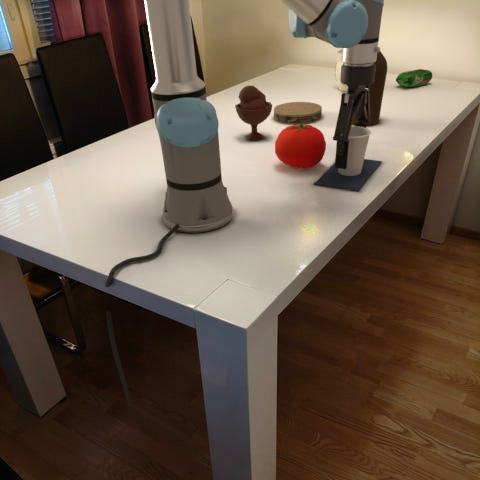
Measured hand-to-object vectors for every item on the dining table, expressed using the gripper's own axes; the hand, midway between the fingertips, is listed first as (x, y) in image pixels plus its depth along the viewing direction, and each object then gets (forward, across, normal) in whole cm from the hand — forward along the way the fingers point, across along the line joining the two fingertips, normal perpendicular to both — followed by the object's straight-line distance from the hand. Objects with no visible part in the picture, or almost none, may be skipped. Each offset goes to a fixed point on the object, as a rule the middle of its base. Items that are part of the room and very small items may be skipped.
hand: (349, 158), depth 121 cm
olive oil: (+4, +43, +9) cm, 44 cm away
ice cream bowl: (+4, +17, +35) cm, 39 cm away
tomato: (+4, 0, +13) cm, 14 cm away
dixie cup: (+4, 0, 0) cm, 4 cm away
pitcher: (+4, +81, +27) cm, 86 cm away
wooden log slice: (+4, +41, +31) cm, 52 cm away
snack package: (+4, +94, +5) cm, 94 cm away
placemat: (+4, 0, 0) cm, 4 cm away
